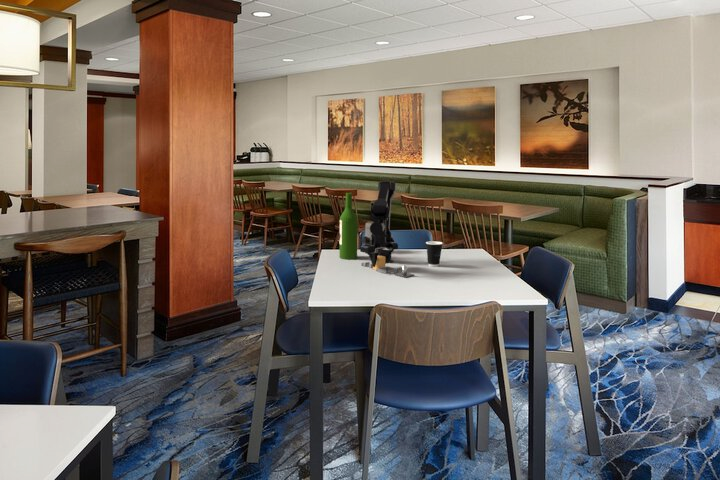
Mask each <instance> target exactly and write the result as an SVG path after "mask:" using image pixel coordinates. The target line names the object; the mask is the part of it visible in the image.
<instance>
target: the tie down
mask: <svg viewBox="0 0 720 480" xmlns="http://www.w3.org/2000/svg"><path fill="white" fill-rule="evenodd" d="M370 262H371V261H365V262H361V266H362V267H364V268H365V267H366V268H369V269H372V270H375V271H376V272H378V273H382V274H386V275H388V274H393V273H394V274H395V273H400V272H399V271H400V270H399V268H396V267H392V266H388V265H386V264H385V256H381V255H378V256H377V261H376V266H375V267H373V265H372V263H370Z"/></svg>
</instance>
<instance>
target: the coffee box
mask: <svg viewBox="0 0 720 480" xmlns="http://www.w3.org/2000/svg"><path fill="white" fill-rule="evenodd" d="M372 223H373V221H367V222H365V229H364V230H365V231H364V232H365V234H364V235H365V236H367V238H370V237H371V234H372V233H371V232H370V226H371V224H372ZM365 236H364V237H365ZM371 246H373V245H371ZM376 253H378V250H376Z"/></svg>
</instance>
